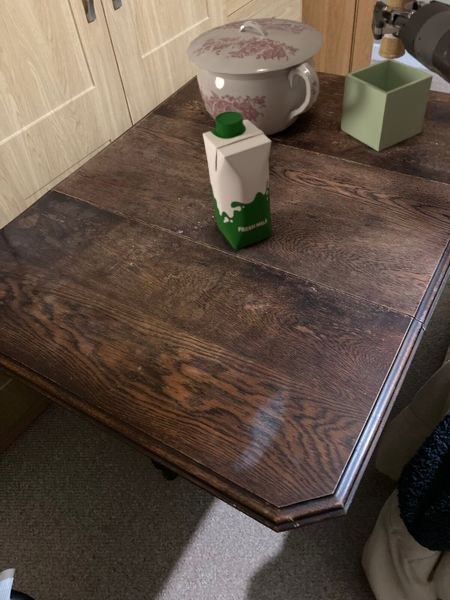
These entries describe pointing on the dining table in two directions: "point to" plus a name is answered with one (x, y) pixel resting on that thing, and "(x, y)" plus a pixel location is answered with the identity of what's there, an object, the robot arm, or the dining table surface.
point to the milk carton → (239, 179)
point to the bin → (385, 103)
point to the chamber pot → (258, 70)
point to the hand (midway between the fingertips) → (391, 5)
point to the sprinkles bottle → (389, 43)
